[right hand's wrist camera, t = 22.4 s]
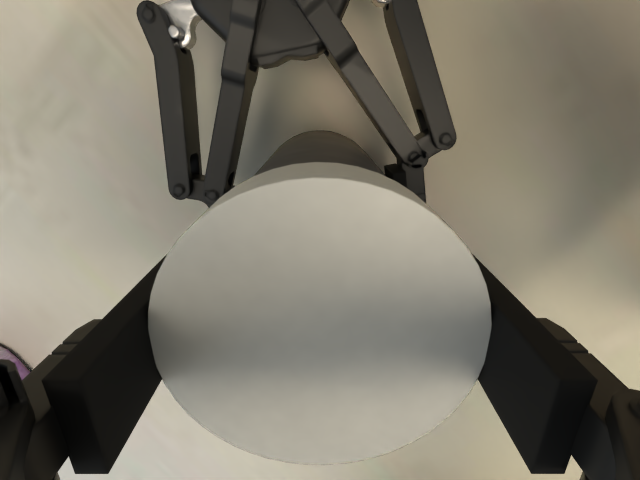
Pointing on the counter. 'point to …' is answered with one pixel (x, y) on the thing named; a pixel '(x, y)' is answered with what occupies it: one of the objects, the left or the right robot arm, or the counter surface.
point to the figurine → (6, 354)
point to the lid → (319, 316)
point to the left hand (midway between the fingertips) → (332, 277)
